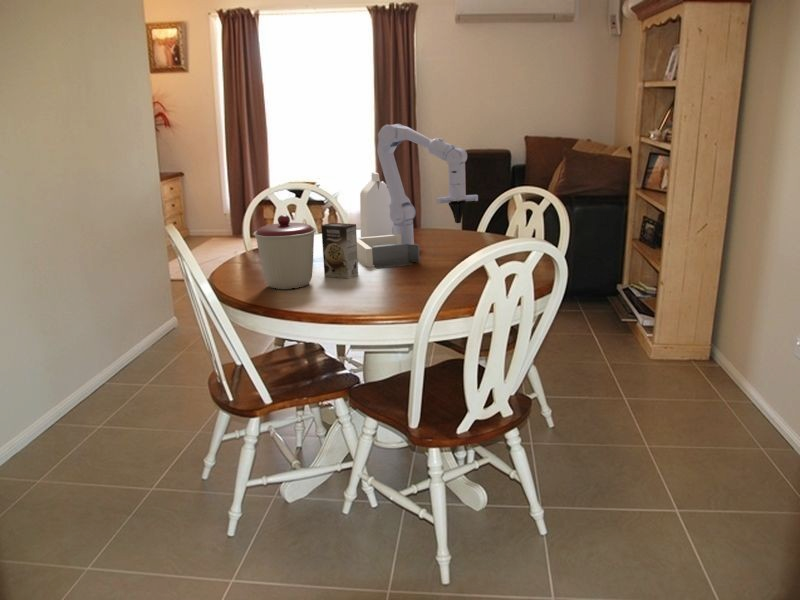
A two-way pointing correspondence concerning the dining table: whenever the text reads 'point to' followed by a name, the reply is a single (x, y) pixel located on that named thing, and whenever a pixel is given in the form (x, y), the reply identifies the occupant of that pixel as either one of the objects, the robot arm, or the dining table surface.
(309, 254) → the canister
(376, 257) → the grey long angular piece
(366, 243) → the shallow white tray
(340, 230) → the coffee box
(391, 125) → the robot arm
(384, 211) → the milk
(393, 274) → the dining table surface
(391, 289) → the dining table surface
